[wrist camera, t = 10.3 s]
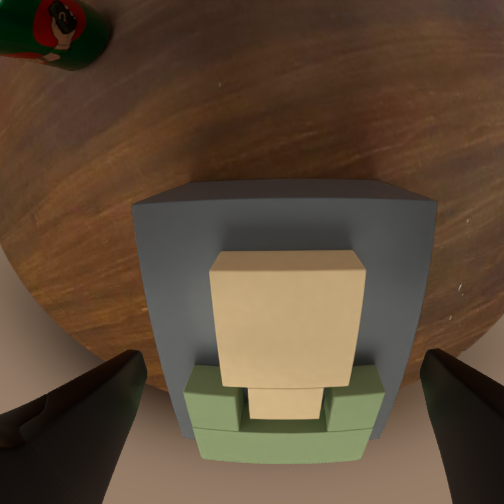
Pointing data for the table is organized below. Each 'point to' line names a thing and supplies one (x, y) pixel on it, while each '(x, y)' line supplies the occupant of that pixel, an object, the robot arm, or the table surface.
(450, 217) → the table surface
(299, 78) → the table surface
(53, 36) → the soda can
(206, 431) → the green pad
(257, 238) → the block
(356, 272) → the cream pad
